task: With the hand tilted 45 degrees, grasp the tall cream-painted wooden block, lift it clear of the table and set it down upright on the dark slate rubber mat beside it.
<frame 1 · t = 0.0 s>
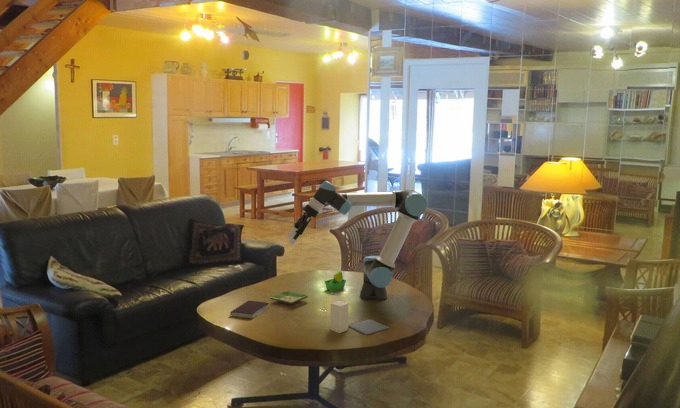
hand: (289, 241, 305), 36 cm above the table, tool tilted 35°, fingers open, 13 cm apart
cream block: (339, 329, 280), on the table
slate mat: (368, 327, 283), on the table
book: (250, 312, 304), on the table
fruit basket: (336, 289, 343), on the table
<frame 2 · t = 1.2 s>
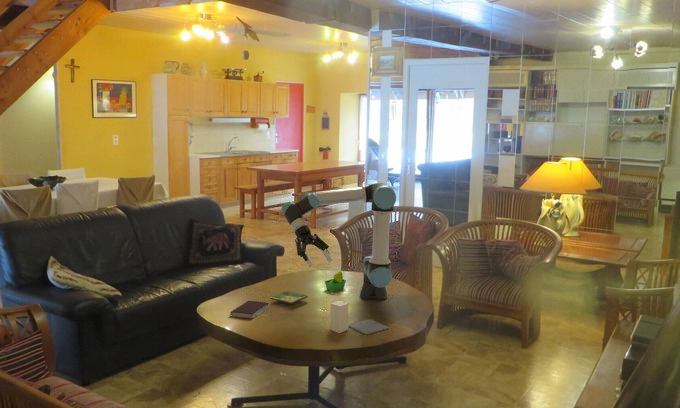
hand: (321, 263, 292), 28 cm above the table, tool tilted 45°, fingers open, 13 cm apart
nothing on the table moved.
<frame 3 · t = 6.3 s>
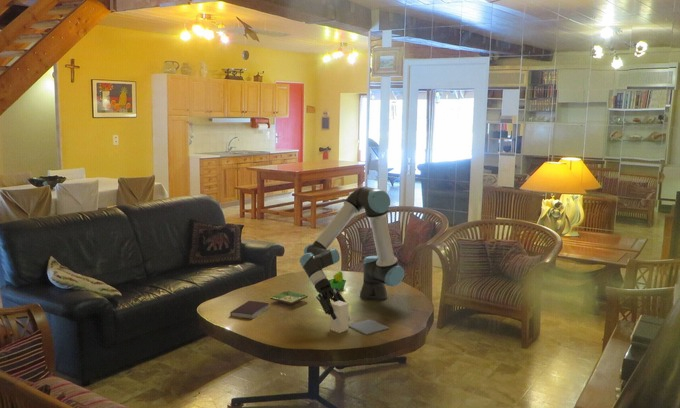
hand: (345, 322, 277), 4 cm above the table, tool tilted 45°, fingers closed on cream block, 6 cm apart
cream block: (339, 329, 280), on the table, touching gripper
everything else where it was.
when the fingers open (6 cm above the table, at t = 11.6 s): cream block stays where it is, resting on slate mat.
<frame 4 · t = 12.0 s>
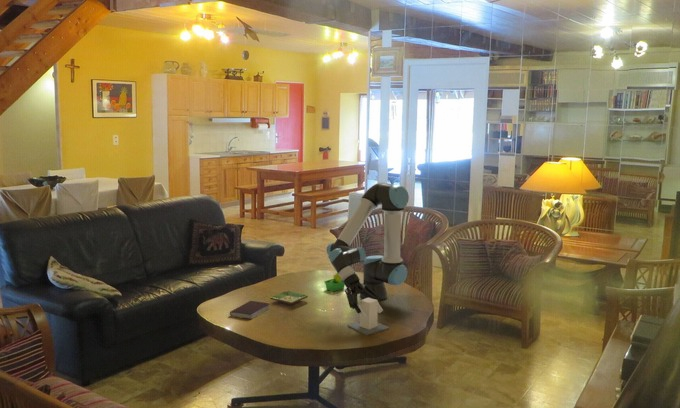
hand: (373, 315, 280), 7 cm above the table, tool tilted 45°, fingers open, 11 cm apart
cream block: (368, 326, 283), point 1 cm above the table, touching slate mat
everything else where it was.
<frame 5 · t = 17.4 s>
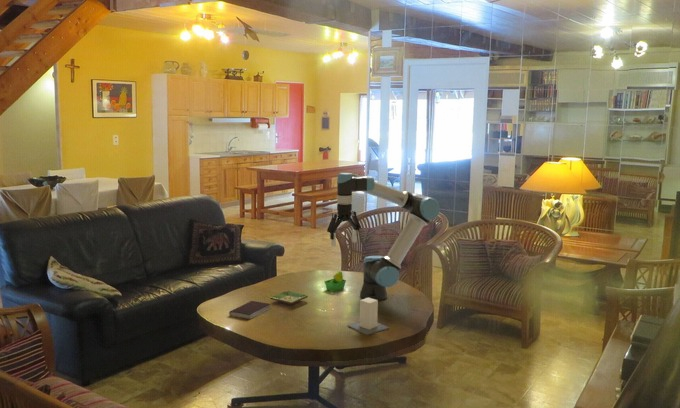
hand: (343, 243, 305), 35 cm above the table, tool pointing down, fingers open, 13 cm apart
nothing on the table moved.
at the end: cream block inside the target area (0.0 cm from its centre), point 0.6 cm above the table; cream block tilted 0°; the gripper is holding nothing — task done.
